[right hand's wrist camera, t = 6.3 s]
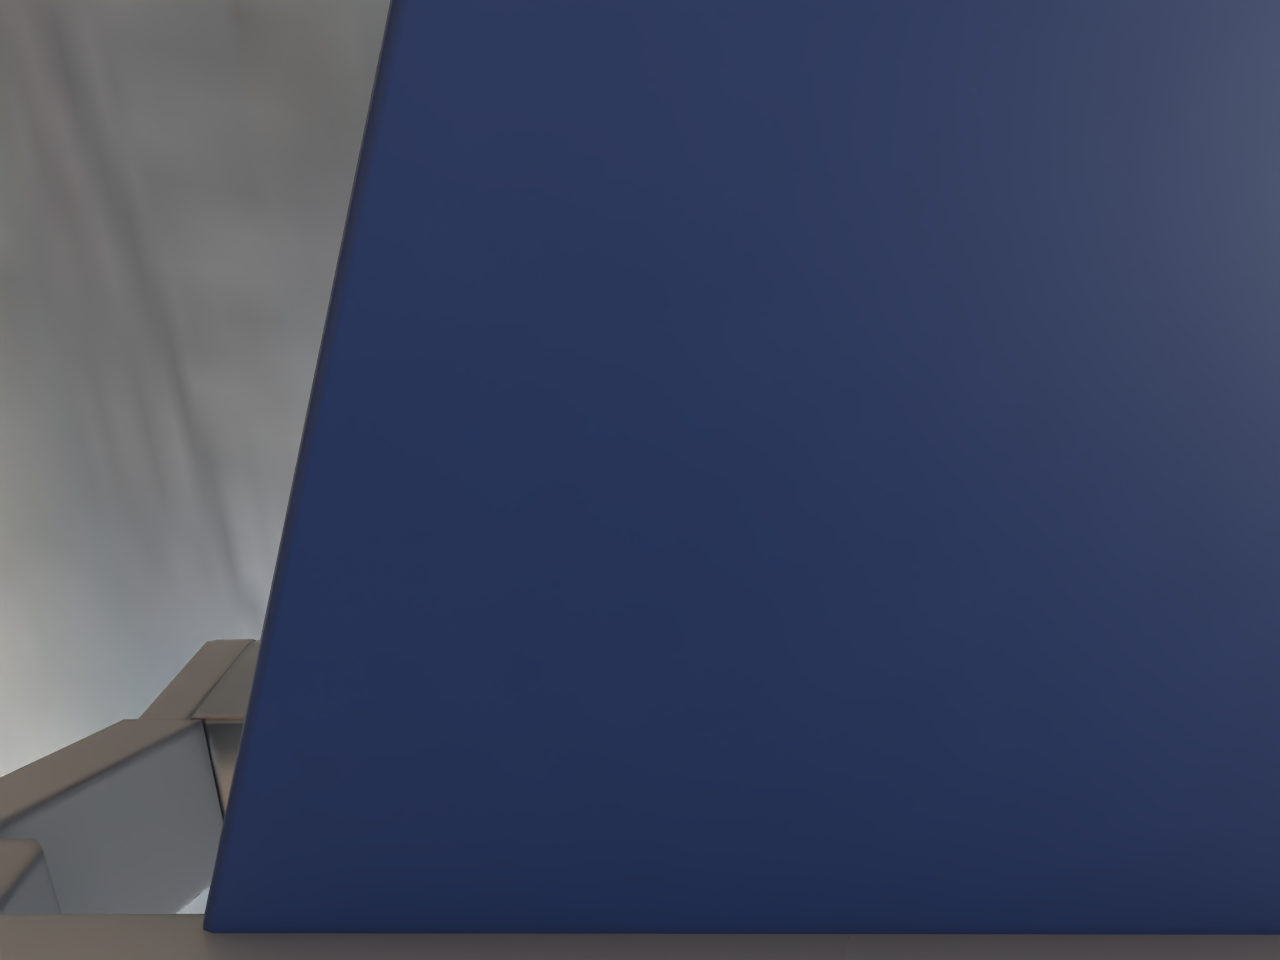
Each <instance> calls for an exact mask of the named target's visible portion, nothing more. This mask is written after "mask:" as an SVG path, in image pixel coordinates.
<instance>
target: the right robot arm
mask: <svg viewBox="0 0 1280 960" xmlns="http://www.w3.org/2000/svg"><path fill="white" fill-rule="evenodd" d="M259 645H260V640H257V641H256V640H254V639H232V640H213V641H209V642H206V643H205V644H204V645H203V646H202V647H201V649H200V650H199V651H198V652H197V653H196V654H195V655H194V657H193V658H192V659H191V660H190V661H189V662H188V663H187V664H186V666H185V667H184V668H183V669H182V670H181V671H180V672H179V674H178V675H177V676H176V677H175V678H174V679H173V680H172V681H171V683H170V684H169V685H168V686H167V687H166V688H165V689H164V691H163V692H162V693H161V694H160V695H159V696H158V697H157V698H156V700H155V701H154V702H153V703H152V704H151V705H150V706H149V708H148V709H147V710H146V711H145V712H144V713H143V714H142V716H141V717H140V718H139V719H134V720H122V721H120V722H118V723H116V724H113V725H111V726H109V727H107V728H105V729H103V730H101V731H99V732H96V733H94V734H92V735H90V736H88V737H86V738H84V739H82V740H79V741H77V742H75V743H73V744H71V745H69V746H67V747H64V748H62V749H60V750H58V751H56V752H54V753H52V754H50V755H47V756H45V757H43V758H41V759H39V760H37V761H35V762H33V763H30V764H28V765H26V766H24V767H22V768H20V769H18V770H16V771H13V772H11V773H9V774H7V775H5V776H3V777H1V778H0V960H1280V935H1143V934H454V933H211V932H208V931H205V930H203V920H204V915H205V914H177V913H178V912H179V911H180V910H181V909H183V908H184V907H185V906H186V905H187V904H189V903H190V902H191V901H192V900H193V899H195V898H196V897H197V896H198V895H199V894H201V893H202V892H203V891H204V890H205V889H207V888H208V887H209V886H210V885H211V880H212V875H213V870H214V866H215V861H216V856H217V851H218V846H219V841H220V836H221V831H222V826H223V821H224V816H225V812H226V807H227V802H228V797H229V792H230V787H231V782H232V777H233V772H234V767H235V762H236V757H237V753H238V748H239V743H240V738H241V733H242V728H243V723H244V718H245V713H246V708H247V703H248V699H249V694H250V689H251V684H252V679H253V674H254V669H255V664H256V659H257V654H258V649H259Z"/></svg>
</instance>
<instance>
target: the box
mask: <svg viewBox="0 0 1280 960" xmlns="http://www.w3.org/2000/svg"><path fill="white" fill-rule="evenodd" d="M203 930H205V931H208V932H211V933H454V934H1143V935H1280V0H391V1H390V6H389V11H388V16H387V21H386V26H385V31H384V36H383V41H382V45H381V50H380V55H379V60H378V65H377V70H376V75H375V80H374V85H373V90H372V95H371V99H370V104H369V109H368V114H367V119H366V124H365V129H364V134H363V139H362V144H361V149H360V154H359V158H358V163H357V168H356V173H355V178H354V183H353V188H352V193H351V198H350V203H349V208H348V212H347V217H346V222H345V227H344V232H343V237H342V242H341V247H340V252H339V257H338V262H337V266H336V271H335V276H334V281H333V286H332V291H331V296H330V301H329V306H328V311H327V316H326V320H325V325H324V330H323V335H322V340H321V345H320V350H319V355H318V360H317V365H316V370H315V374H314V379H313V384H312V389H311V394H310V399H309V404H308V409H307V414H306V419H305V424H304V428H303V433H302V438H301V443H300V448H299V453H298V458H297V463H296V468H295V473H294V478H293V483H292V487H291V492H290V497H289V502H288V507H287V512H286V517H285V522H284V527H283V532H282V537H281V541H280V546H279V551H278V556H277V561H276V566H275V571H274V576H273V581H272V586H271V591H270V595H269V600H268V605H267V610H266V615H265V620H264V625H263V630H262V635H261V640H260V645H259V649H258V654H257V659H256V664H255V669H254V674H253V679H252V684H251V689H250V694H249V699H248V703H247V708H246V713H245V718H244V723H243V728H242V733H241V738H240V743H239V748H238V753H237V757H236V762H235V767H234V772H233V777H232V782H231V787H230V792H229V797H228V802H227V807H226V812H225V816H224V821H223V826H222V831H221V836H220V841H219V846H218V851H217V856H216V861H215V866H214V870H213V875H212V880H211V885H210V890H209V895H208V900H207V905H206V910H205V915H204V920H203Z"/></svg>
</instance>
